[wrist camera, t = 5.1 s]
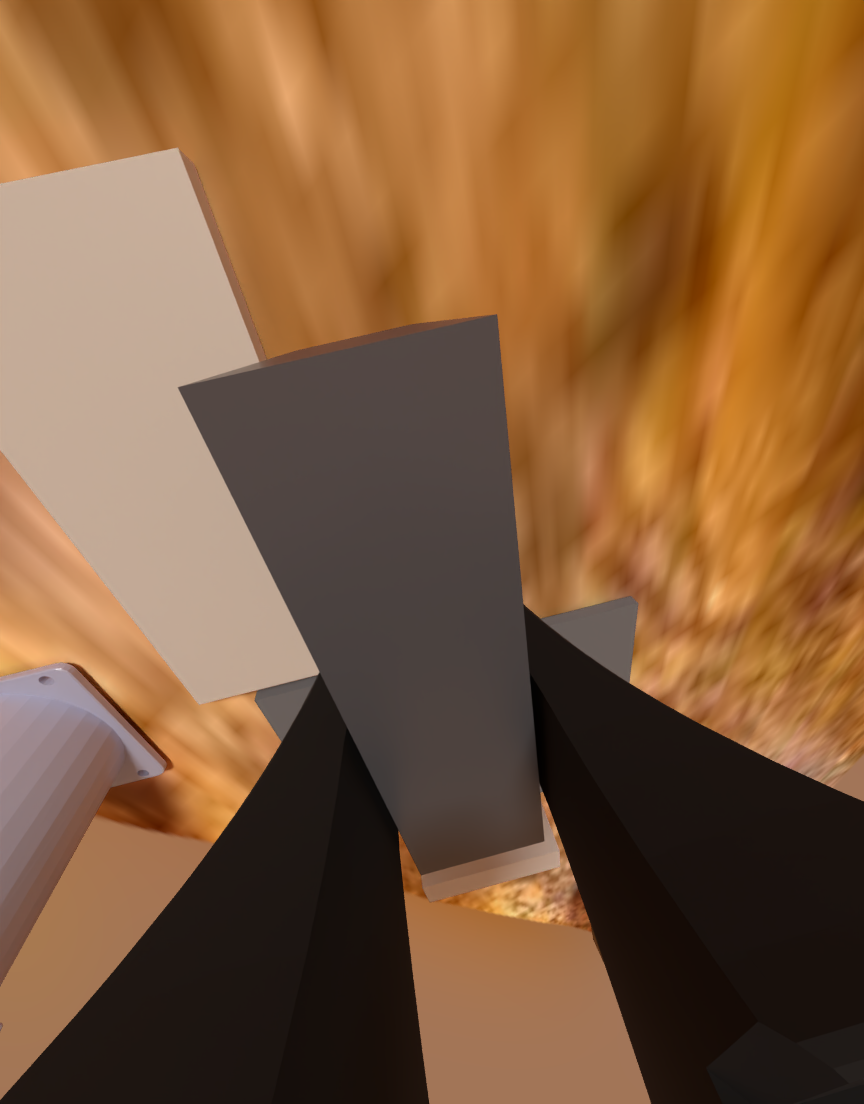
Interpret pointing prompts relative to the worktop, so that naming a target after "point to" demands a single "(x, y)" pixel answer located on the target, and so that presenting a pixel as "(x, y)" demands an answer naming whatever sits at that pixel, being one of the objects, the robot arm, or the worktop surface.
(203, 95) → the worktop surface
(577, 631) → the mat
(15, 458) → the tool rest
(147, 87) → the worktop surface
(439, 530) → the grey bar
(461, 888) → the tile
